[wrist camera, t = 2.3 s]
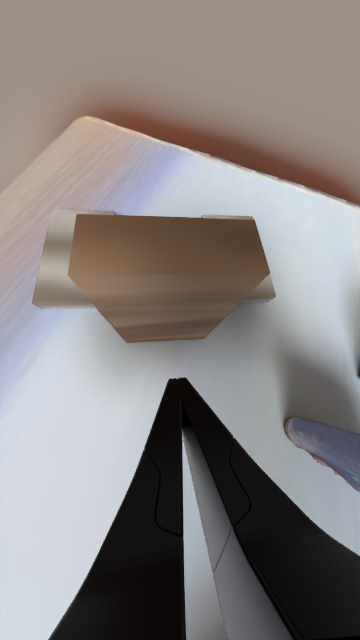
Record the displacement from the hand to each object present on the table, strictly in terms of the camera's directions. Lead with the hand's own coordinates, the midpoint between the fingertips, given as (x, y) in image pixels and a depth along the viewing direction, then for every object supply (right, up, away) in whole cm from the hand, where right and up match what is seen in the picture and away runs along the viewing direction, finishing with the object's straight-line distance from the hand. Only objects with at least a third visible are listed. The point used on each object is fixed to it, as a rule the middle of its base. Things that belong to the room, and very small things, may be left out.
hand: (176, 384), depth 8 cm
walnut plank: (-1, +2, +10) cm, 10 cm away
